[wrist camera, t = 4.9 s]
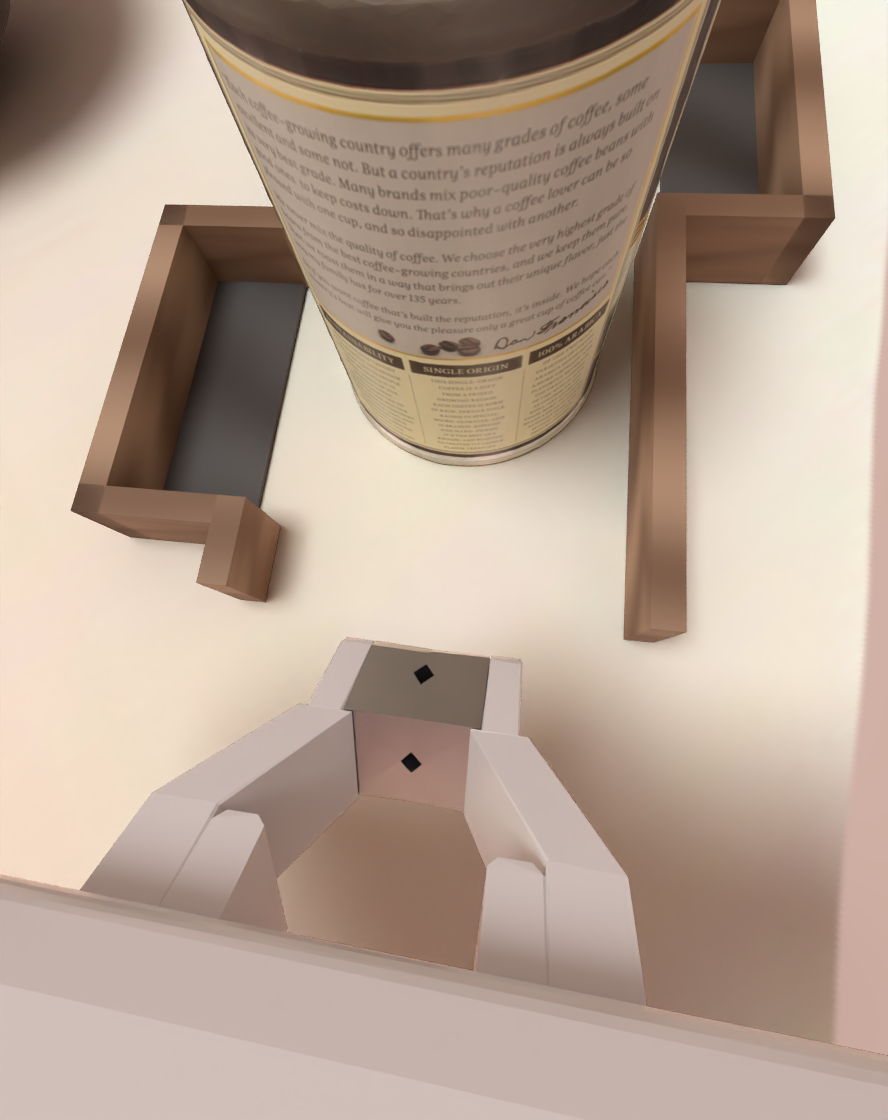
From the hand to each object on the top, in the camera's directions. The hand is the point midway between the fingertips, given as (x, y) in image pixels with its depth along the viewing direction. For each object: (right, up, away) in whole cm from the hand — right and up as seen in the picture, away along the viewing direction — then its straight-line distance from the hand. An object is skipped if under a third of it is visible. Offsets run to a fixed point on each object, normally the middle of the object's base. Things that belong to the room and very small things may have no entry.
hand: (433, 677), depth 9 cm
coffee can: (+1, +10, +13) cm, 16 cm away
